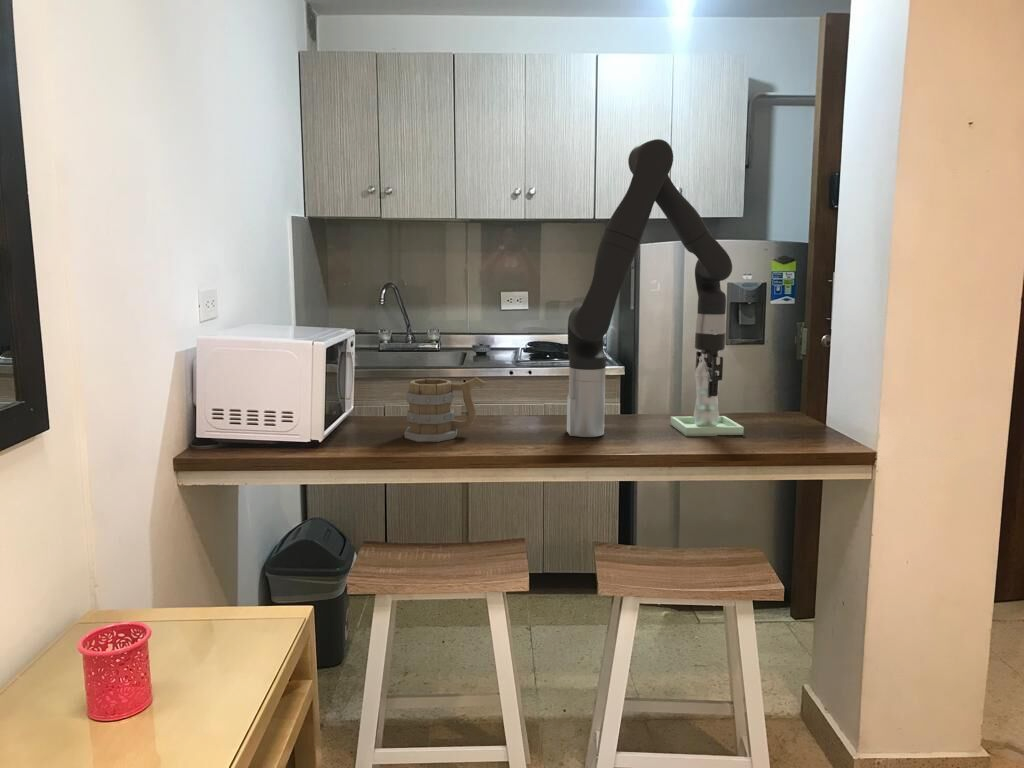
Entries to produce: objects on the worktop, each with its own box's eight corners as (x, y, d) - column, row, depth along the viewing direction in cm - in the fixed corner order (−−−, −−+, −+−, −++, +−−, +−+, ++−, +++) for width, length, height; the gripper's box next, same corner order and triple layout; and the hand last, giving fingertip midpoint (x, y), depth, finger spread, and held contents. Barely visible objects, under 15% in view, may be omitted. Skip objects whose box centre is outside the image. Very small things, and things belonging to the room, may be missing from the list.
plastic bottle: (722, 430, 191) (725, 354, 188) (696, 430, 191) (699, 353, 188) (715, 425, 198) (718, 351, 194) (690, 425, 198) (693, 351, 194)
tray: (685, 436, 187) (686, 427, 187) (670, 424, 201) (670, 416, 201) (743, 435, 188) (743, 427, 188) (724, 423, 202) (724, 416, 202)
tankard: (402, 442, 180) (401, 381, 177) (409, 430, 192) (408, 373, 190) (483, 442, 180) (483, 381, 177) (486, 431, 192) (486, 374, 190)
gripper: (687, 329, 197) (685, 388, 200) (705, 333, 183) (702, 398, 186) (715, 329, 198) (712, 388, 200) (734, 333, 184) (731, 398, 186)
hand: (707, 393), depth 193 cm, fingers open, 8 cm apart
